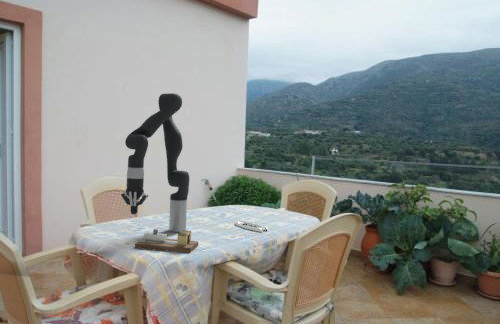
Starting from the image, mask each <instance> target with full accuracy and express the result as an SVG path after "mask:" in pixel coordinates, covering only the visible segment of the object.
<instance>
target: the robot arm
mask: <svg viewBox="0 0 500 324" xmlns="http://www.w3.org/2000/svg"><path fill="white" fill-rule="evenodd" d="M182 106H183V99H182V97H181V95H180V94H178V93H172V92H171V93H162V94H160V95H159V97H158V110H159V111H157V112H155V113H153V114H151V115H150V116H149V117H147V118H146V119H145V121H143V123H141V124H140V126H139V127H137V128H136V129H134V130H133V131H132V132H130V133H128V135H127V137H126V138H125V141H124V142H125V146H126V148H128V149H130V150H134V153H133V154H131V155H129V156H128V159H127V160H128V161H127V169H126V171H127V172H126V189H125V191H124V192H123V193H121V194H120V196H121V197H122V199H123V201H124V202H125V204H126V205H127V206H128V205H129V206H130V214H131V215H137V214H138V210H139V209H138V207H139V206H142V205H143V203H144V202H145V201H146V200H147V198H148V197H149V195H148V194H146V193H145V191H144V183H145V181H144V180H145V179H144V178H145V177H144V176H145V170H144V167H145V165H144V162H145V157H146V154H147V150H148V147H149V140H148V139H149V138H151V137H152V136H153V135H154V134H155V133H156V132H157V131H158V129H159V128H160V127H161V126H162V128H163V137H164V139H163V140H164V146H165V147H164V148H165V154H166V155H165V156H166V165H167V166H166V169H167V170H166V174H167V183H168V185H169V186H170V187H173V188H177V191H176V192H174V193H171V194H170V197H169V219H168V220H169V221H168V222H169V223H168V230H169V232H174V233H180V232H181V231H183V230H184V231H187V213H188V211H187V209H188V208H187V207H188V195H189V189H190V174H189V172H188V171H185V170H178V167H177V165H178V164H177V163H178V159H179V156H180V154H181V153H182V150H183V137H182V133H181V131H180V129H179V128H178V127H177V125H176V123H175V121H174V119H173V115H175V114H176V113H177V112H178V111H179V110H180V109H181V108H182Z"/></svg>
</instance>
